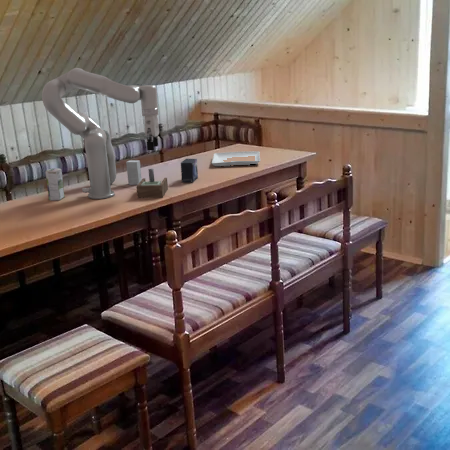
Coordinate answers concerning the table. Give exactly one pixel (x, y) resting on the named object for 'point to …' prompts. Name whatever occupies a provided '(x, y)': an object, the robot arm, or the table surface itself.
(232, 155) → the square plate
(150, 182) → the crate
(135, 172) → the skincare box
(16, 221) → the table surface
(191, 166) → the small box
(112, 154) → the glass bottle
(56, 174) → the syrup box
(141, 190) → the bay
